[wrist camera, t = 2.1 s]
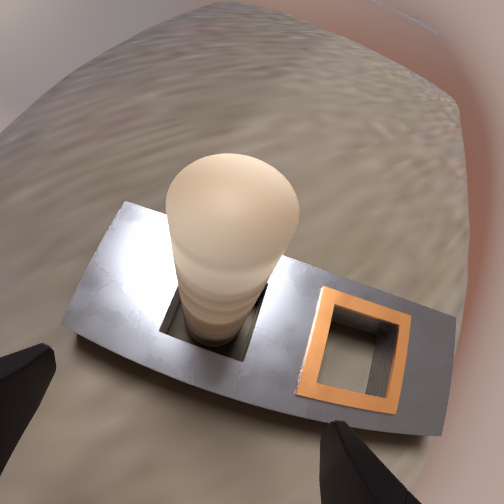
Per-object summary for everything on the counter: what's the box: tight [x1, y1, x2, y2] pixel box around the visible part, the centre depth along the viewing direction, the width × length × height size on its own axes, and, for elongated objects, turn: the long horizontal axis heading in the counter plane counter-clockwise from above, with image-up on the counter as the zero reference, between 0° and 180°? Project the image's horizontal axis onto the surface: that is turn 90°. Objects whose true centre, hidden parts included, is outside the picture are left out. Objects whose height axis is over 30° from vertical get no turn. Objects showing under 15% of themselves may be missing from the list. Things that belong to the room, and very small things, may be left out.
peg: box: [166, 154, 299, 347], centre depth 15 cm, size 4×4×14 cm
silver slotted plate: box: [60, 201, 456, 436], centre depth 20 cm, size 28×10×3 cm, turn 73°
